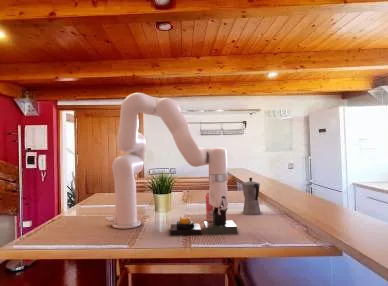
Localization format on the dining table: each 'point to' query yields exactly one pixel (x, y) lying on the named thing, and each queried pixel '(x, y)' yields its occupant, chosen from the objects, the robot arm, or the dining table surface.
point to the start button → (184, 220)
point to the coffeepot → (251, 197)
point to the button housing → (185, 229)
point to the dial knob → (216, 218)
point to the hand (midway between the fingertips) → (219, 222)
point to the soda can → (209, 209)
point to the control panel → (220, 228)
